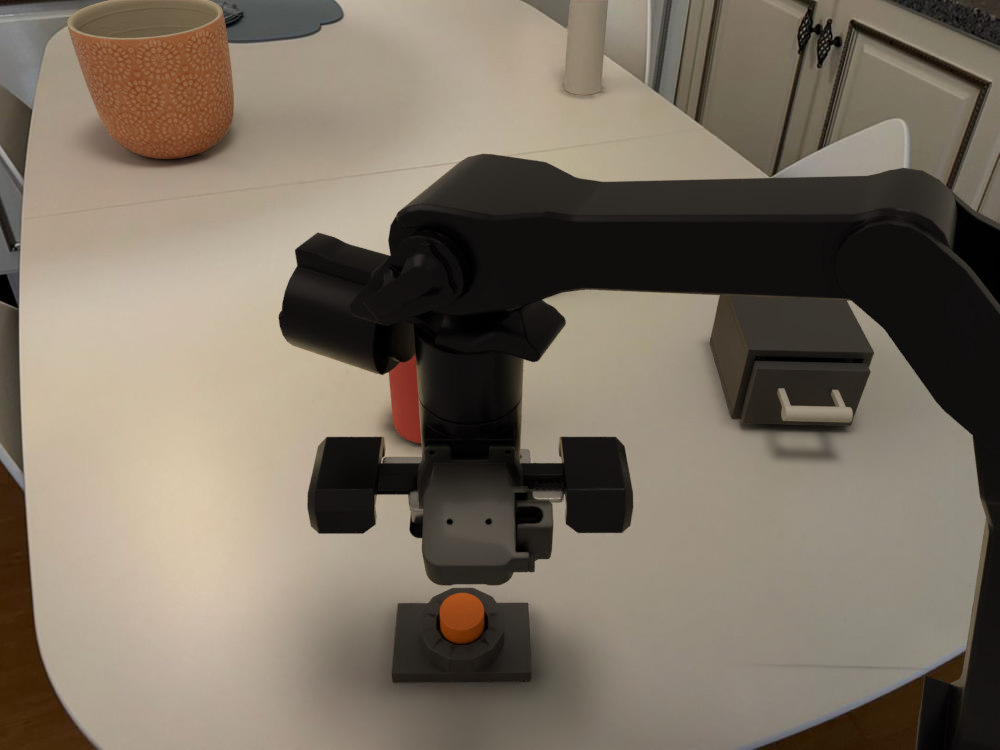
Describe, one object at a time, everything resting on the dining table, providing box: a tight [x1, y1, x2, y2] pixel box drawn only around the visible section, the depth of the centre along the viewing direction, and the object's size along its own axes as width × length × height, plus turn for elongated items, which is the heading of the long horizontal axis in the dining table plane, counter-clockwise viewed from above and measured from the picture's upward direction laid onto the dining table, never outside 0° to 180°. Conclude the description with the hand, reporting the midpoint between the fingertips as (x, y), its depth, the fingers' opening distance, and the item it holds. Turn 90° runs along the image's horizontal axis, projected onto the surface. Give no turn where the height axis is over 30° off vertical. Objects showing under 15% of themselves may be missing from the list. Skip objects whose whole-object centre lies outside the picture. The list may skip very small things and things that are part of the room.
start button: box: [440, 593, 484, 644], centre depth 62 cm, size 3×3×2 cm
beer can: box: [388, 354, 421, 444], centre depth 79 cm, size 7×7×12 cm
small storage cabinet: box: [709, 295, 875, 420], centre depth 86 cm, size 13×12×9 cm
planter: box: [66, 0, 235, 160], centre depth 126 cm, size 21×21×19 cm
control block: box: [391, 587, 533, 683], centre depth 63 cm, size 10×6×3 cm, turn 91°
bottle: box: [563, 0, 609, 96], centre depth 144 cm, size 7×7×28 cm
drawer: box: [740, 356, 871, 427], centre depth 83 cm, size 15×10×7 cm
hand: (472, 570), depth 56 cm, fingers closed
